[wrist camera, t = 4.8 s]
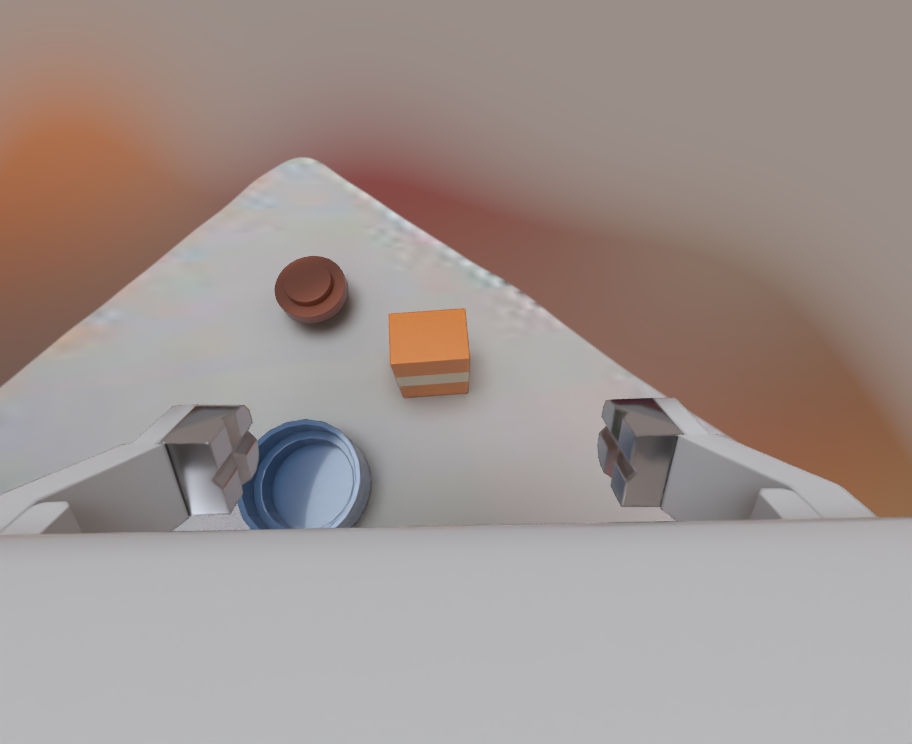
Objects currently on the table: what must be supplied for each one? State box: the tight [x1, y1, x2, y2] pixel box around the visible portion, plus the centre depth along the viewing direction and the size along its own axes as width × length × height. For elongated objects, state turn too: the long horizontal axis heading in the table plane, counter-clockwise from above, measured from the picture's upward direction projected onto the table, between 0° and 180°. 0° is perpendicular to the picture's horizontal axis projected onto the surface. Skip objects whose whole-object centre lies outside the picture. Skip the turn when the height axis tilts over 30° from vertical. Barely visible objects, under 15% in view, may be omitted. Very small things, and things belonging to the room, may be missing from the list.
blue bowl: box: [237, 419, 371, 530], centre depth 34 cm, size 9×9×4 cm
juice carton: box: [389, 308, 470, 398], centre depth 36 cm, size 6×4×8 cm
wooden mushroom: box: [275, 256, 348, 323], centre depth 40 cm, size 6×6×4 cm
